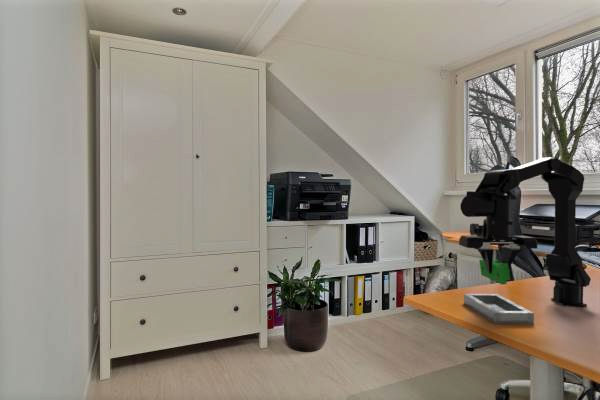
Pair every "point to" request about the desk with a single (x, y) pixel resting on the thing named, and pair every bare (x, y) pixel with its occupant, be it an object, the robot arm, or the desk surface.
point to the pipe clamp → (496, 271)
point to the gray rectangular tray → (498, 309)
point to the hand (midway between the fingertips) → (496, 273)
